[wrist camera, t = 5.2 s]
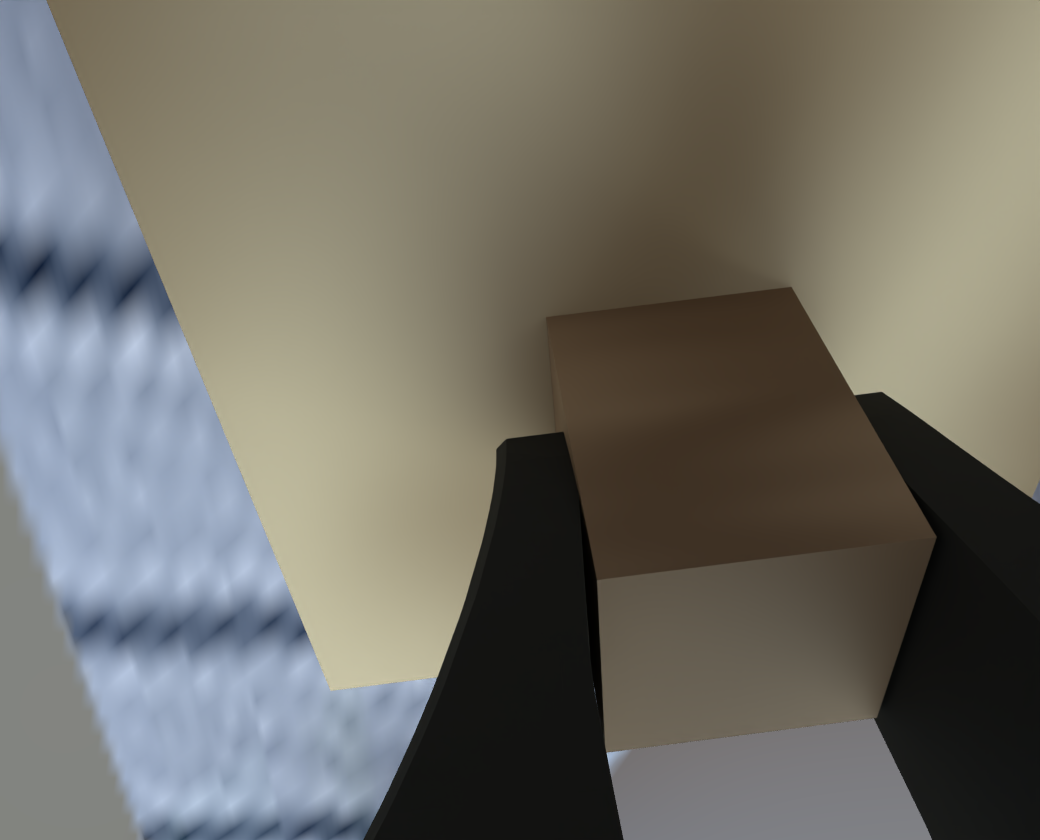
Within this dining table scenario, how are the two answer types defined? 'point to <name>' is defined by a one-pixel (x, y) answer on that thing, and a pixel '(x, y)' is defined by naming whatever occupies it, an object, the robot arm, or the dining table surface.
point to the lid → (596, 307)
